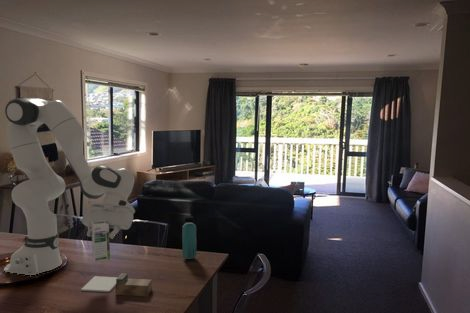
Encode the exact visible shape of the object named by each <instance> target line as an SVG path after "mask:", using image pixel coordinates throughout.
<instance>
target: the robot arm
mask: <svg viewBox="0 0 470 313" xmlns="http://www.w3.org/2000/svg"><path fill="white" fill-rule="evenodd" d="M4 110H5V111H4V113H5V117H6V119H7V120H8V121H9V123H8V124H7V125H6V129H5V130H6V138H7V142H8V146H9V149H10V152H11V156H12V159H13V161H14V163H15V166H16V168H17V170H20V172H23V173H24V174H25V175H26V177H27V178H28V179H27V180H24V181H22V182H20V183H19V184H17V185H15V186H14V187H13V189H12V190H11V194H10V195H11V199H12V202H13V204H15V205H16V206H17V207H18V208H20V209H21V211H22V212H23V214H24V217H25V220H26V228H27V236H25V237H24V238H22V239H21V243H23V242H24V243H23V245H21V247H20V248H18V249H16V251H15V252H13V253H12V254H11V256H10V258H9V259H10V260H9V263H8V264H6V266H5V267H4V268H3V272H4V271H5V272H4V273H7V272H10V273H9V274H13V273H17V274H16V275H19V274H25V275H30V276H29V277H32V276H31V275H35V276H37V275H36V274H38V275H40V274H39V273H42V272H45V271H49V270H52V269H54V268H56V267H58V266H60V265H61V264H62V262H63V261H62V260H63V259H62V257H61V255H60V249H59V246H60V245H59V244H60V243H59V242H60V241H59V240H60V238H59V232H58V225H57V215H56V214H55V213H54V212H52V211H51V209H50V206H49V202H50V201H53V200H55V199H57V198H59V197H60V196H61V195H62V194H63V193H64V192H65V191H66V182H65V180H64V178H63V177H62V176H60V175H58V174H57V173H56V172H55V171H54V170H53V169H52V167H51V165H50V164H49V162H48V161H47V158H46V157H45V153H44V151H43V148H42V145H41V143H40V140H39V137H38V129H40V128H41V129H43V128H44V127H47V128H48V129H49V131H50V132H51V133H52V135H53V137H54V138H55V140H56V141H57V143H58V144H59V146H60V147H61V149H62V152H63V154H64V156H65V158H66V160H67V162H68V163H69V165H70V167H71V169H72V170H73V172H74V174H75V176H76V178H77V179H78V181H79V187H80V191H81V193H82V194H83V196H85V198H88V199H91V200H97V199H100V198H102V197H103V196H104V198H103V200H102V202H101V203H100V204H97V203H93V204H92V205H89V207H88V209H87V210H86V211H85V212H84V215H82V217H81V223H82V224H83V225H84V227H85V226H86V227H87V232H86V237H91V238H92V228H91V222H95V221H108V223H109V229H113V230H112V231H111V232H109V235H108V238H109V240H110V239H112V240H113V239H114V237H115V236H116V235H117V234H118V233H119V232H120V230H129V229H130V228H131V226H132V224H133V221H134V214H135V213H136V210H135V208H134V206H133V205H132V204H131V203H130V202H129V201H128V198H129V197H130V195H131V194H132V192H133V188H134V184H135V181H136V179H135V175H134V174H133V173H132V171H131V170H129V169H126V168H111V167H109V166H107V165H97V166H95V167H94V168H93V169H92V168H91V167H90V164H88V162H87V160H86V158H85V156H84V149H83V147H84V141H85V135H86V133H85V130H84V128H83V126H82V124H81V122H80V121H79V119H78V118H77V116H76V115H75V114H74V113H73V110H71V109H70V108H69V107H68V106H67V104H65V103H64V102H63V101H61V100H59V99H56V100H54V99H53V100H48V99H45V98H36V97H27V98H24V97H23V98H22V97H19V98H14V99H12V100H10V101H8V103H7V104H6V105H5V109H4ZM42 274H43V273H42ZM25 275H24V276H25Z"/></svg>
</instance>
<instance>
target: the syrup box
mask: <svg viewBox="0 0 470 313" xmlns="http://www.w3.org/2000/svg"><path fill="white" fill-rule="evenodd" d="M91 228H92V237H91V244H92V246H91V248H92V258H93V262H94V263H97V262H98V263H99V262H105V261H111V249H110V244H111V243H110V238H108V235H109V233H110V228H109V223H108V221H95V222H91Z"/></svg>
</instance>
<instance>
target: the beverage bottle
mask: <svg viewBox="0 0 470 313" xmlns="http://www.w3.org/2000/svg"><path fill="white" fill-rule="evenodd" d="M183 220H184V224H183V225H182V228H181V229H182V231H181V232H182V234H181V235H182V254H181V255H182V257H183V258H184V259H189V260H191V259H195V258H197V243H198V242H197V225H196V224H195V223H193V222H194V220H195V218H194V216H192V215H186V216H184V219H183Z"/></svg>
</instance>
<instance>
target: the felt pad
mask: <svg viewBox="0 0 470 313" xmlns="http://www.w3.org/2000/svg"><path fill="white" fill-rule="evenodd" d="M117 278H118V276H117V277H116V276H100V275H98V276H97V275H95V276H93V277H92V278H91V279H90V280H89V281H88V282H87V283H86V284H85V285H83V287H82V288H81V289H80V291H81V292H82V291H83V292H98V293H111V291H112V290H113V289H114V288H116V285H115V284H116V279H117Z"/></svg>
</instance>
